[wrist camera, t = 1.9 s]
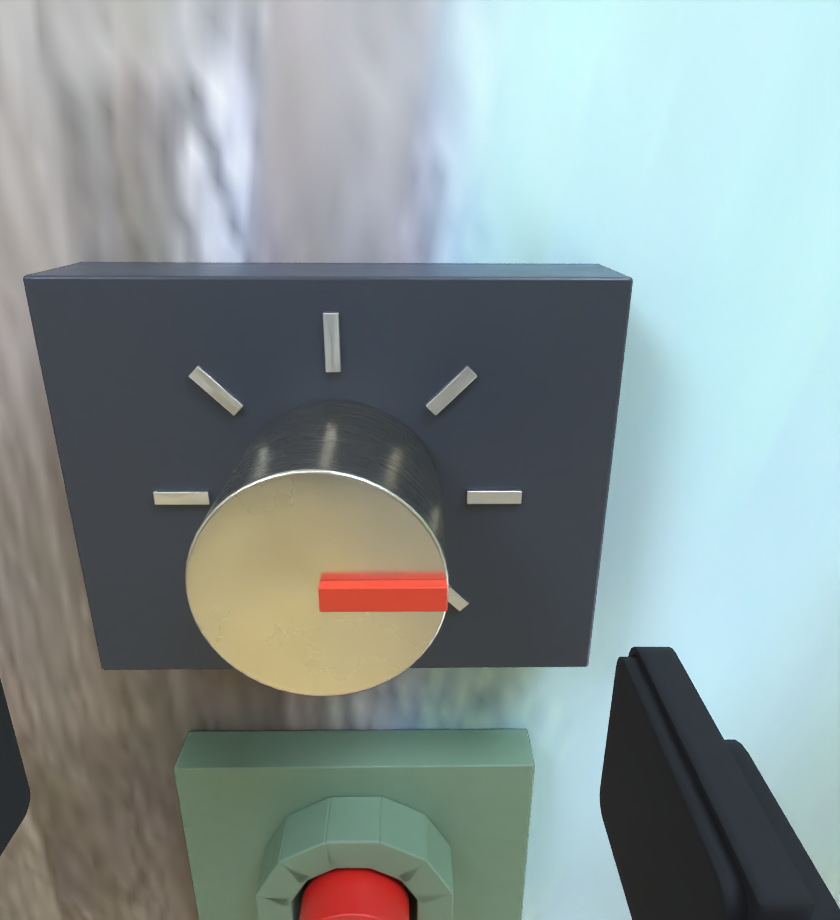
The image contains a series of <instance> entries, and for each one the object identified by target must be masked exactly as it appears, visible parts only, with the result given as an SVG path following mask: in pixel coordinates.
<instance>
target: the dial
mask: <svg viewBox="0 0 840 920" xmlns="http://www.w3.org/2000/svg"><path fill="white" fill-rule="evenodd" d="M185 581H186V592H187V597H188V602H189V606H190V609H191V612H192V614H193V617H194V620H195V622H196V624H197V626H198V627H199V629H200V631H201V633H202V635H203V636H204V637H205V639H206V640H207V641H208V643H209V644H210V646H211V647H212V648H213V649H214V650H215V651H216V652H217V653H218V654H219V655H220V656H221V657H222V658H223V659H224V660H225V661H226V662H228V663H229V664H230V665H231V666H232V667H234V668H235V669H237V670H238V671H240V672H241V673H243V674H244V675H246V676H247V677H249V678H251V679H253V680H255V681H257V682H259V683H261V684H264V685H267V686H269V687H272V688H275V689H278V690H281V691H285V692H289V693H294V694H300V695H307V696H338V695H345V694H351V693H356V692H360V691H364V690H367V689H371V688H373V687H375V686H378V685H380V684H383V683H385V682H387V681H389V680H391V679H392V678H394V677H396V676H398V675H399V674H401V673H402V672H403V671H405V670H406V669H408V668H409V667H410V666H411V665H412V664H414V663H415V662H416V661H417V660H418V659H419V658H420V657H421V656H422V655H423V653H424V652H425V651H426V650H427V648H428V647H429V646H430V645H431V643H432V642H433V640H434V638H435V637H436V635H437V633H438V632H439V630H440V627H441V625H442V622H443V620H444V617H445V614H446V611H447V608H448V599H449V573H448V564H447V554H446V544H445V535H444V525H443V516H442V506H441V497H440V487H439V481H438V476H437V472H436V469H435V466H434V464H433V461H432V459H431V457H430V455H429V453H428V451H427V450H426V448H425V447H424V445H423V444H422V443H421V441H420V440H419V439H418V437H417V436H416V435H415V434H414V433H413V432H412V431H411V430H410V429H409V428H408V427H406V426H405V425H404V424H403V423H402V422H400V421H399V420H397V419H396V418H394V417H393V416H391V415H389V414H388V413H385V412H383V411H381V410H379V409H377V408H374V407H371V406H368V405H365V404H362V403H356V402H351V401H340V400H329V401H318V402H313V403H308V404H304V405H301V406H298V407H295V408H293V409H291V410H289V411H287V412H284V413H282V414H281V415H279V416H278V417H276V418H275V419H273V420H272V421H270V422H269V423H268V424H267V425H266V426H265V427H264V428H262V429H261V430H260V431H259V433H258V434H257V435H256V436H255V437H254V439H253V440H252V441H251V443H250V445H249V446H248V448H247V449H246V451H245V453H244V454H243V456H242V458H241V459H240V461H239V463H238V464H237V466H236V467H235V469H234V471H233V472H232V474H231V476H230V477H229V479H228V481H227V482H226V484H225V486H224V487H223V489H222V490H221V492H220V494H219V495H218V497H217V499H216V500H215V502H214V504H213V505H212V507H211V509H210V510H209V512H208V513H207V515H206V517H205V518H204V520H203V522H202V523H201V525H200V527H199V528H198V530H197V532H196V534H195V536H194V538H193V541H192V543H191V545H190V549H189V553H188V557H187V561H186V572H185Z"/></svg>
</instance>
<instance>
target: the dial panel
mask: <svg viewBox="0 0 840 920" xmlns="http://www.w3.org/2000/svg"><path fill="white" fill-rule="evenodd" d="M23 281H24V286H25V291H26V296H27V301H28V306H29V311H30V315H31V320H32V325H33V330H34V335H35V340H36V345H37V350H38V355H39V360H40V365H41V370H42V375H43V380H44V385H45V390H46V394H47V399H48V404H49V409H50V414H51V419H52V424H53V429H54V434H55V439H56V444H57V449H58V454H59V459H60V464H61V469H62V473H63V478H64V483H65V488H66V493H67V498H68V503H69V508H70V513H71V518H72V523H73V528H74V533H75V538H76V543H77V548H78V552H79V557H80V562H81V567H82V572H83V577H84V582H85V587H86V592H87V597H88V602H89V607H90V612H91V617H92V622H93V627H94V631H95V636H96V641H97V646H98V651H99V656H100V661H101V666H102V669H104V670H152V669H235V668H234V667H232V666H231V665H230V664H229V663H228V662H226V661H225V660H224V659H223V658H222V657H221V656H220V655H219V654H218V653H217V652H216V651H215V650H214V649H213V648H212V647H211V646H210V644H209V643H208V641H207V640H206V639H205V637H204V636H203V635H202V633H201V631H200V629H199V627H198V626H197V624H196V622H195V620H194V617H193V614H192V612H191V609H190V606H189V602H188V597H187V592H186V581H185V572H186V561H187V557H188V553H189V549H190V545H191V543H192V541H193V538H194V536H195V534H196V532H197V530H198V528H199V527H200V525H201V523H202V522H203V520H204V518H205V517H206V515H207V513H208V512H209V510H210V509H211V507H212V505H213V504H214V502H215V500H216V499H217V497H218V495H219V494H220V492H221V490H222V489H223V487H224V486H225V484H226V482H227V481H228V479H229V477H230V476H231V474H232V472H233V471H234V469H235V467H236V466H237V464H238V463H239V461H240V459H241V458H242V456H243V454H244V453H245V451H246V449H247V448H248V446H249V445H250V443H251V441H252V440H253V439H254V437H255V436H256V435H257V434H258V433H259V431H260V430H261V429H262V428H264V427H265V426H266V425H267V424H268V423H269V422H270V421H272V420H273V419H275V418H276V417H278V416H279V415H281V414H282V413H284V412H287V411H289V410H291V409H293V408H295V407H298V406H301V405H304V404H308V403H313V402H318V401H329V400H340V401H351V402H356V403H362V404H365V405H368V406H371V407H374V408H377V409H379V410H381V411H383V412H385V413H388V414H389V415H391V416H393V417H394V418H396V419H397V420H399V421H400V422H402V423H403V424H404V425H405V426H406V427H408V428H409V429H410V430H411V431H412V432H413V433H414V434H415V435H416V436H417V437H418V439H419V440H420V441H421V443H422V444H423V445H424V447H425V448H426V450H427V451H428V453H429V455H430V457H431V459H432V461H433V464H434V466H435V469H436V472H437V476H438V481H439V487H440V497H441V506H442V516H443V525H444V535H445V544H446V554H447V564H448V573H449V599H448V608H447V611H446V614H445V617H444V620H443V622H442V625H441V627H440V630H439V632H438V633H437V635H436V637H435V638H434V640H433V642H432V643H431V645H430V646H429V647H428V648H427V650H426V651H425V652H424V653H423V655H422V656H421V657H420V658H419V659H418V660H417V661H416V662H415V663H414V664H412V665H411V666H410V667H409V668H458V667H586V666H588V663H589V654H590V645H591V637H592V628H593V619H594V611H595V602H596V594H597V585H598V576H599V568H600V559H601V551H602V542H603V533H604V525H605V516H606V507H607V499H608V490H609V482H610V473H611V464H612V456H613V447H614V438H615V430H616V421H617V413H618V404H619V395H620V387H621V378H622V370H623V361H624V352H625V344H626V335H627V326H628V318H629V309H630V301H631V292H632V283H633V280H632V278H630V277H628V276H626V275H623V274H621V273H619V272H616V271H614V270H611V269H609V268H607V267H604V266H602V265H599V264H452V263H154V262H80V263H76V264H72V265H67V266H63V267H59V268H55V269H51V270H46V271H42V272H38V273H34V274H30V275H26V276H24V278H23Z"/></svg>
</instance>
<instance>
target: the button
mask: <svg viewBox="0 0 840 920" xmlns="http://www.w3.org/2000/svg"><path fill="white" fill-rule="evenodd" d="M299 920H409V897H408V894H407V891H406V889H405V887H404V886H403V885H402V883H401V882H400V881H399V880H398V879H396V878H394V877H391V876H389V875H386V874H384V873H381V872H379V871H376V870H373V869H371V868H335V869H333V870H331V871H328V872H326V873H324V874H321V875H319V876H317V877H315V878H314V879H313V880H312V881H311V882H310V883H309V884H308V886H307V888H306V889H305V891H304V894H303V898H302V904H301V910H300V917H299Z"/></svg>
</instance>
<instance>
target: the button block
mask: <svg viewBox="0 0 840 920" xmlns="http://www.w3.org/2000/svg"><path fill="white" fill-rule="evenodd" d="M534 768H535V764H534V760H533V755H532V751H531V746H530V741H529V737H528V732H527V729H458V730H334V731H210V732H188V734H187V737H186V739H185V742H184V744H183V747H182V749H181V752H180V754H179V757H178V759H177V762H176V764H175V767H174V773H175V779H176V785H177V791H178V797H179V803H180V809H181V815H182V821H183V827H184V833H185V839H186V845H187V851H188V857H189V863H190V869H191V875H192V881H193V887H194V893H195V899H196V905H197V911H198V917H199V920H299V917H300V910H301V904H302V898H303V894H304V891H305V889H306V888H307V886H308V884H309V883H310V882H311V881H312V880H313V879H314V878H315V877H317V876H319V875H321V874H324V873H326V872H328V871H331V870H333V869H335V868H371V869H373V870H376V871H379V872H381V873H384V874H386V875H389V876H391V877H394V878H396V879H398V880H399V881H400V882H401V883H402V885H403V886H404V887H405V889H406V891H407V894H408V897H409V920H521V918H522V907H523V895H524V884H525V872H526V860H527V849H528V837H529V826H530V814H531V803H532V791H533V780H534Z"/></svg>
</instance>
